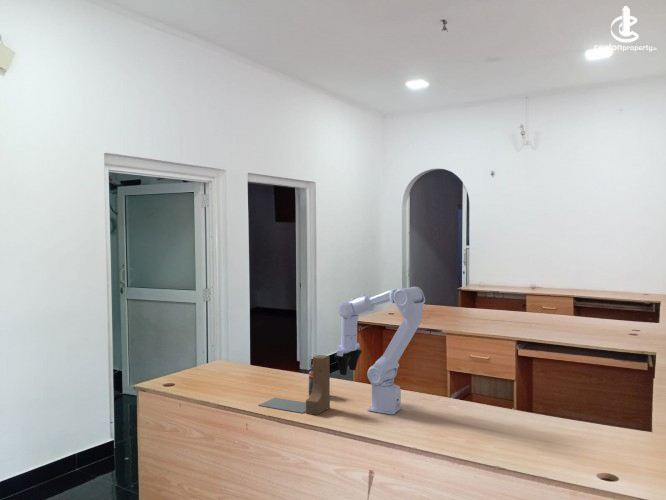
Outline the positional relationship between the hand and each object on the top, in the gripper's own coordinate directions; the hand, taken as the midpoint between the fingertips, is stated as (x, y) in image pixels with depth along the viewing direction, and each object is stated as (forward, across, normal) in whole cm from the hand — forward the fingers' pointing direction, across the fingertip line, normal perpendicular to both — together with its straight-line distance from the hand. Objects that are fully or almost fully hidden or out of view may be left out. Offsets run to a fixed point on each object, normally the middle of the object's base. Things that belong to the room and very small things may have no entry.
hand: (347, 372), depth 185 cm
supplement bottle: (+11, -1, -13) cm, 17 cm away
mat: (+11, +14, -16) cm, 24 cm away
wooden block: (+11, +14, -4) cm, 18 cm away
